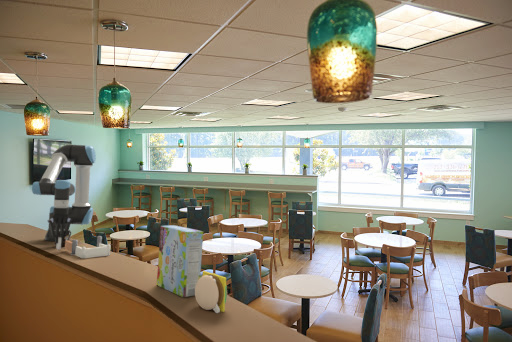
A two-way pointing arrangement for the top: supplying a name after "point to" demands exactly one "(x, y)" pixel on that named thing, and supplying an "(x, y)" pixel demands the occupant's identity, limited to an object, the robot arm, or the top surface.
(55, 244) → the coffee mug
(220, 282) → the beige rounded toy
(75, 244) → the gate
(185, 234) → the snack box
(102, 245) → the paddock fence
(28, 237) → the top surface
